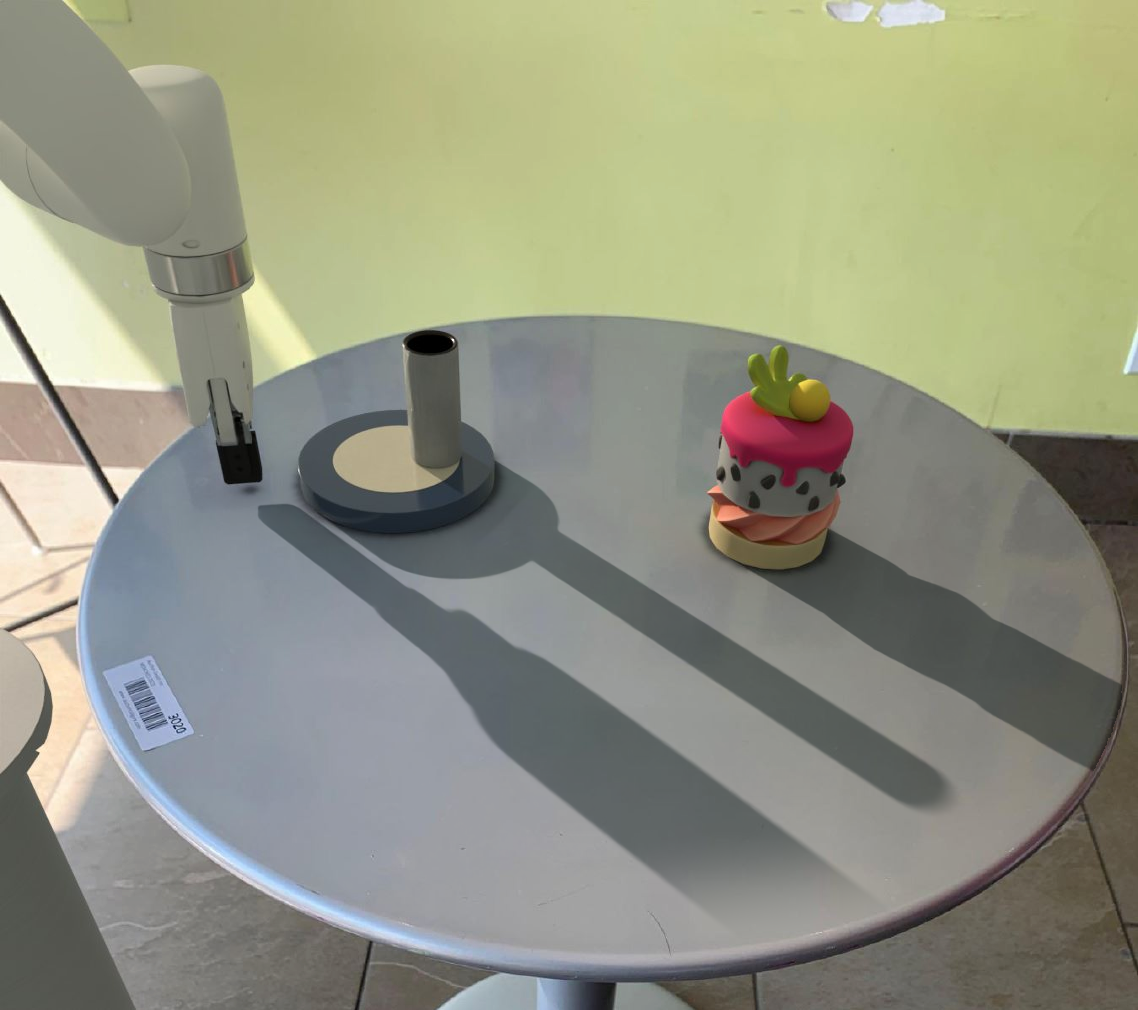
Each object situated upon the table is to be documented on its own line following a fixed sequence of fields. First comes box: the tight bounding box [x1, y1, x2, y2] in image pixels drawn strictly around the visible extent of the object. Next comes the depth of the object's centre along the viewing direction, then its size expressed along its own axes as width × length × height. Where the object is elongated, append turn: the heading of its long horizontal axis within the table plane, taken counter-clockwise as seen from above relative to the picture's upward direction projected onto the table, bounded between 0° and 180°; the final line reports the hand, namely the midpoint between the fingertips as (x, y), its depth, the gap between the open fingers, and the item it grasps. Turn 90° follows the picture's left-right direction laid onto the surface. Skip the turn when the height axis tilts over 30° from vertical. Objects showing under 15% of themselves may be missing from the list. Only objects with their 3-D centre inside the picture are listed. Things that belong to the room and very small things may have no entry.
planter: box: [401, 329, 462, 468], centre depth 94 cm, size 4×4×10 cm
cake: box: [706, 344, 854, 570], centre depth 89 cm, size 10×11×15 cm
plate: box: [297, 409, 496, 534], centre depth 98 cm, size 17×17×2 cm
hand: (244, 478), depth 96 cm, fingers closed
